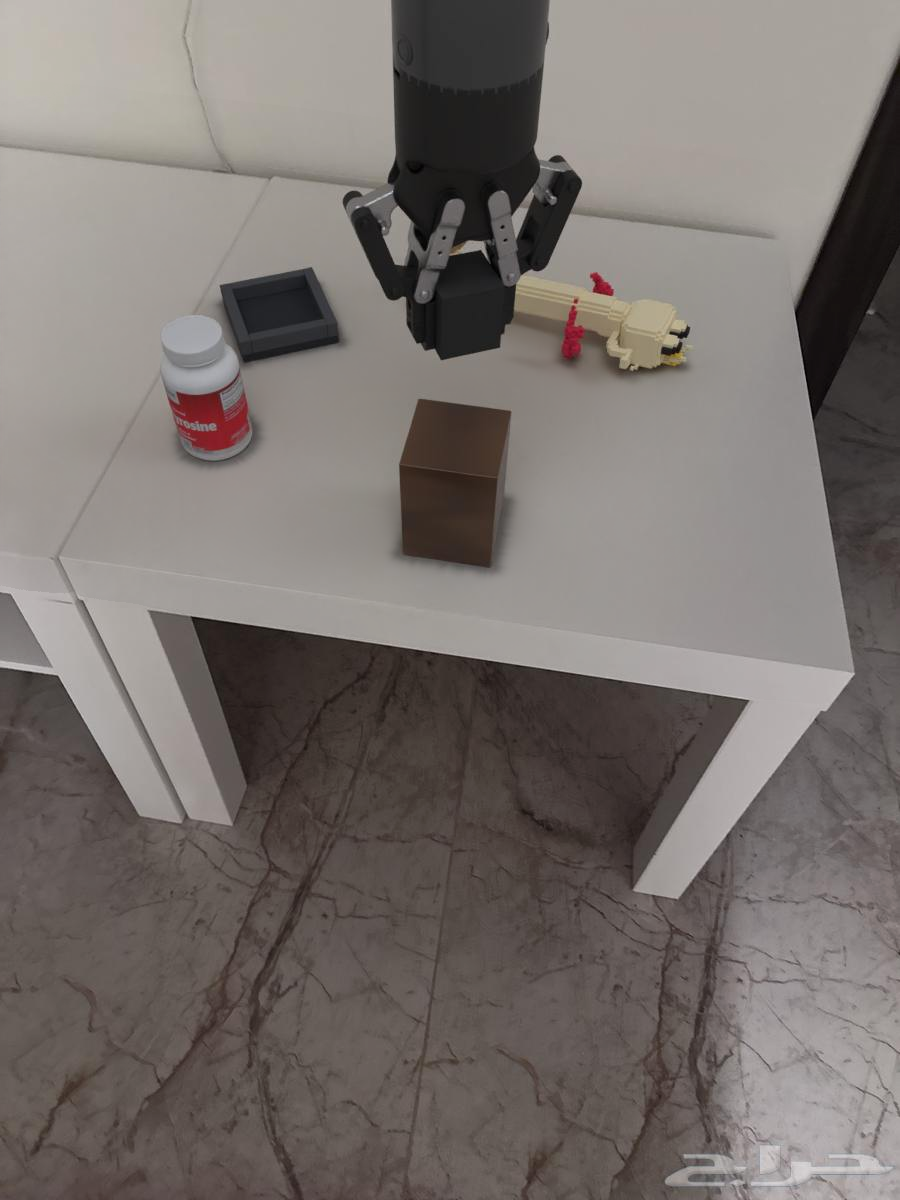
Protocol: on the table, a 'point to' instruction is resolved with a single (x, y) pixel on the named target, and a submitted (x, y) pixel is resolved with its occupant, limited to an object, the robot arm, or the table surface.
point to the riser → (453, 481)
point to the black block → (468, 306)
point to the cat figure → (605, 320)
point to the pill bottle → (204, 388)
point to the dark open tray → (279, 314)
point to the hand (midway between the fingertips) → (459, 334)
